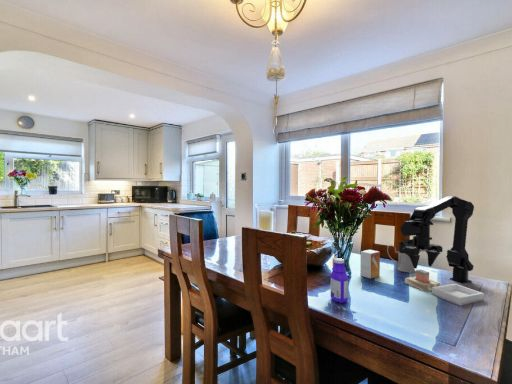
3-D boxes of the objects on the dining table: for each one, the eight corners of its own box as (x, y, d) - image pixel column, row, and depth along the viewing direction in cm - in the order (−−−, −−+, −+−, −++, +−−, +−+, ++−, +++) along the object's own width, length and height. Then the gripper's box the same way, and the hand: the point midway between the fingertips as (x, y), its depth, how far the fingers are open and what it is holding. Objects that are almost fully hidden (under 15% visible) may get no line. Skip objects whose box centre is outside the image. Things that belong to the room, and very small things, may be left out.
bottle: (350, 302, 113) (350, 260, 112) (340, 305, 110) (340, 262, 110) (338, 296, 119) (338, 256, 119) (327, 298, 117) (327, 257, 116)
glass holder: (416, 273, 149) (417, 245, 149) (388, 270, 154) (388, 243, 154) (413, 268, 158) (413, 242, 157) (386, 266, 162) (386, 240, 162)
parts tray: (454, 290, 125) (454, 283, 125) (484, 300, 113) (484, 293, 113) (431, 294, 120) (431, 287, 120) (459, 305, 109) (459, 297, 109)
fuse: (420, 283, 133) (420, 269, 133) (429, 287, 129) (429, 272, 129) (415, 284, 132) (415, 270, 132) (424, 287, 128) (424, 273, 128)
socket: (419, 280, 137) (419, 275, 137) (440, 288, 127) (440, 283, 127) (405, 283, 134) (405, 278, 134) (425, 291, 124) (425, 285, 124)
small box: (370, 278, 141) (370, 253, 140) (360, 275, 146) (360, 251, 146) (380, 276, 145) (380, 251, 145) (369, 272, 150) (369, 249, 150)
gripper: (422, 230, 141) (422, 261, 141) (393, 233, 135) (393, 264, 135) (443, 234, 130) (443, 267, 130) (413, 237, 124) (413, 271, 124)
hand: (422, 267), depth 130 cm, fingers open, 9 cm apart
